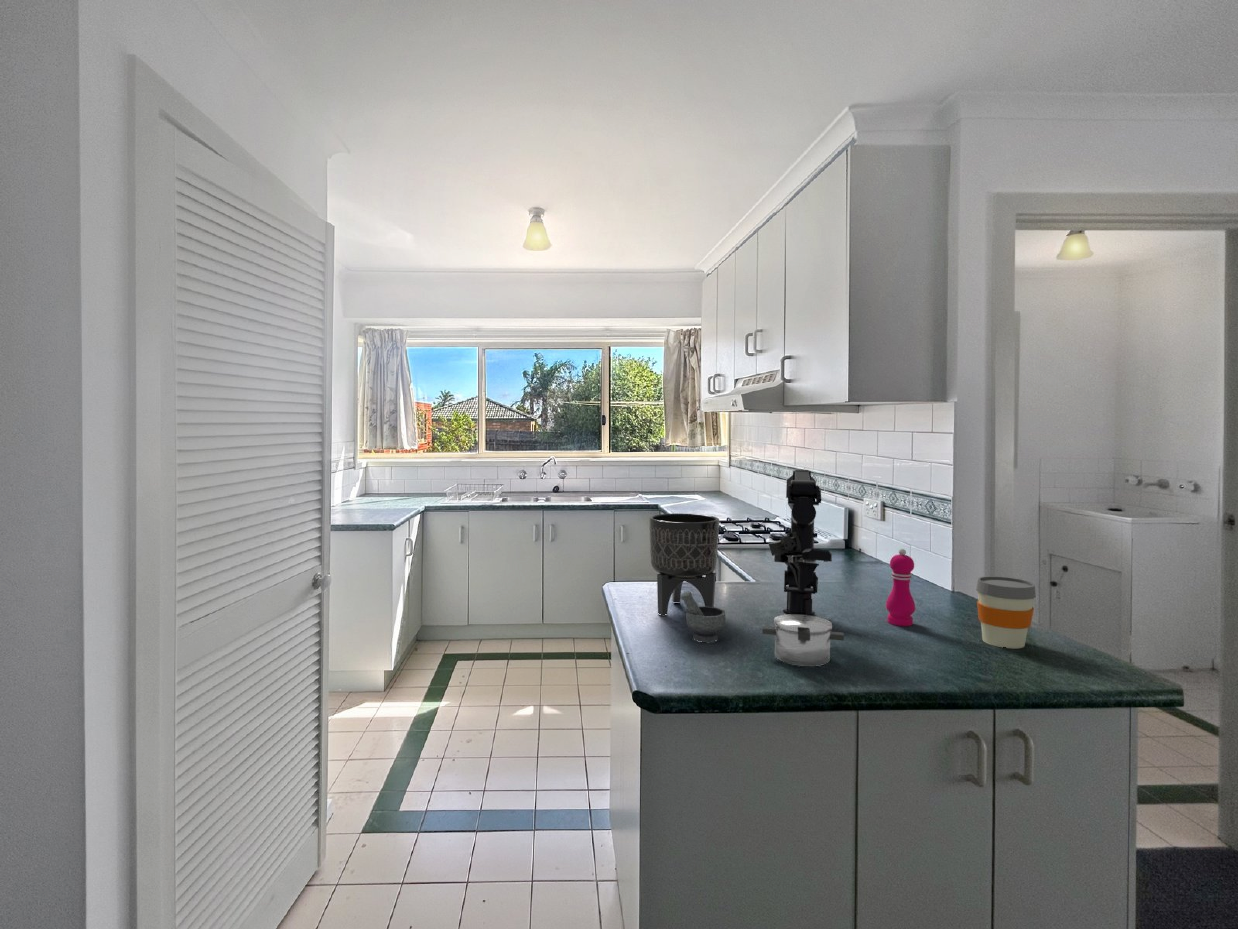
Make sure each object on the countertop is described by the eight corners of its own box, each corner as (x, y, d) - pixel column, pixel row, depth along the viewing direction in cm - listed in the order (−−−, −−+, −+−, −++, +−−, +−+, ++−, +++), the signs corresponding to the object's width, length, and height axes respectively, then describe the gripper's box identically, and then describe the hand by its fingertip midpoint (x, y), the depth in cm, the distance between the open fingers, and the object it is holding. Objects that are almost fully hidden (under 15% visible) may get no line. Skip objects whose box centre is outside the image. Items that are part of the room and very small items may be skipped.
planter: (724, 605, 194) (726, 515, 192) (708, 624, 175) (710, 524, 174) (660, 598, 201) (661, 511, 199) (638, 615, 183) (639, 520, 181)
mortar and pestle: (717, 632, 168) (718, 585, 168) (731, 644, 159) (731, 594, 159) (675, 634, 166) (675, 587, 166) (685, 646, 157) (686, 596, 156)
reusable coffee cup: (962, 637, 166) (964, 578, 165) (997, 632, 171) (1000, 574, 170) (1009, 653, 154) (1012, 590, 154) (1045, 647, 159) (1048, 585, 158)
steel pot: (762, 645, 158) (763, 616, 158) (840, 652, 154) (841, 622, 154) (761, 663, 147) (761, 631, 146) (845, 670, 142) (846, 638, 142)
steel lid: (774, 617, 158) (774, 611, 158) (830, 621, 155) (830, 615, 155) (773, 637, 141) (773, 631, 141) (835, 643, 138) (835, 636, 138)
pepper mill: (917, 627, 174) (920, 552, 173) (888, 625, 175) (890, 550, 174) (911, 620, 181) (913, 547, 180) (883, 618, 182) (885, 546, 181)
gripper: (757, 529, 177) (755, 588, 174) (792, 523, 159) (790, 589, 156) (795, 532, 180) (793, 591, 177) (833, 527, 162) (832, 592, 159)
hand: (801, 591), depth 167 cm, fingers closed
